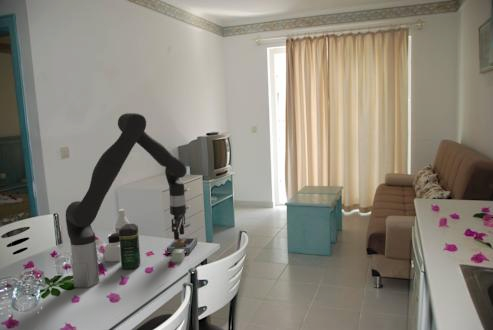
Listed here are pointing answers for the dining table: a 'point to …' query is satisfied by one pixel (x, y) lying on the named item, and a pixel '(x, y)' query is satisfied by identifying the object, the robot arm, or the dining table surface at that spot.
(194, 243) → the tray
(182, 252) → the sage block
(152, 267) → the dining table surface
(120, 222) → the bath foam
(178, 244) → the walnut block
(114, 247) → the medicine bottle
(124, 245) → the coffee jar
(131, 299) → the dining table surface
